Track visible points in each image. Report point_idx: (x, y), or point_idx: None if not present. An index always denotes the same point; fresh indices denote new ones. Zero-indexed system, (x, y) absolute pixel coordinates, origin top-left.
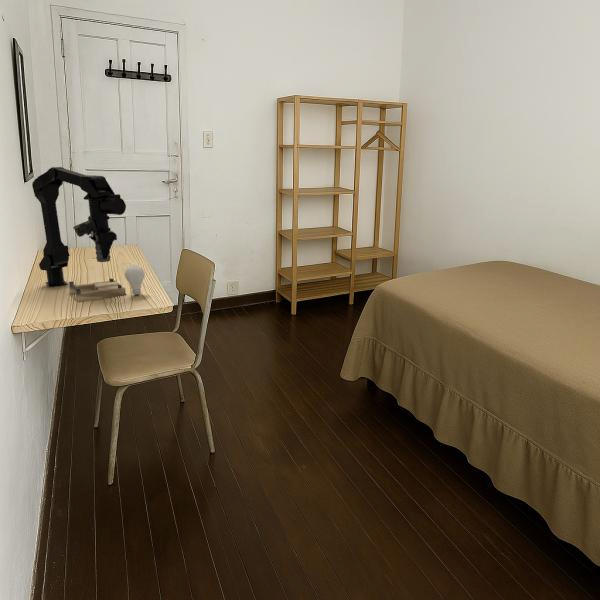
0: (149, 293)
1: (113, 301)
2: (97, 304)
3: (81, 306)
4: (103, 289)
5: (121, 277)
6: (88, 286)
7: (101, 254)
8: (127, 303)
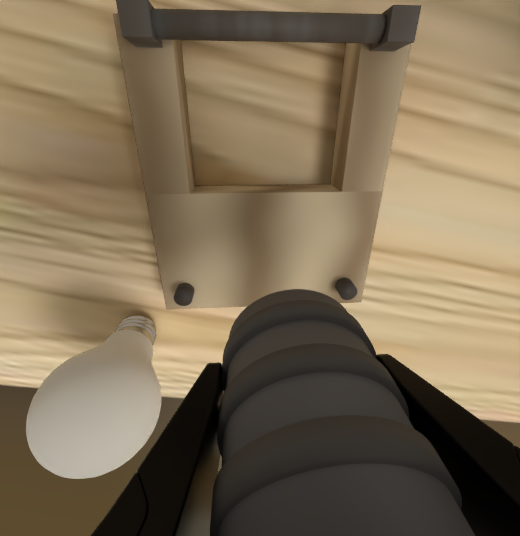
0: (152, 364)
1: (68, 219)
2: (28, 129)
3: (2, 20)
4: (190, 212)
5: (478, 334)
6: (344, 155)
7: (225, 392)
8: (9, 265)
